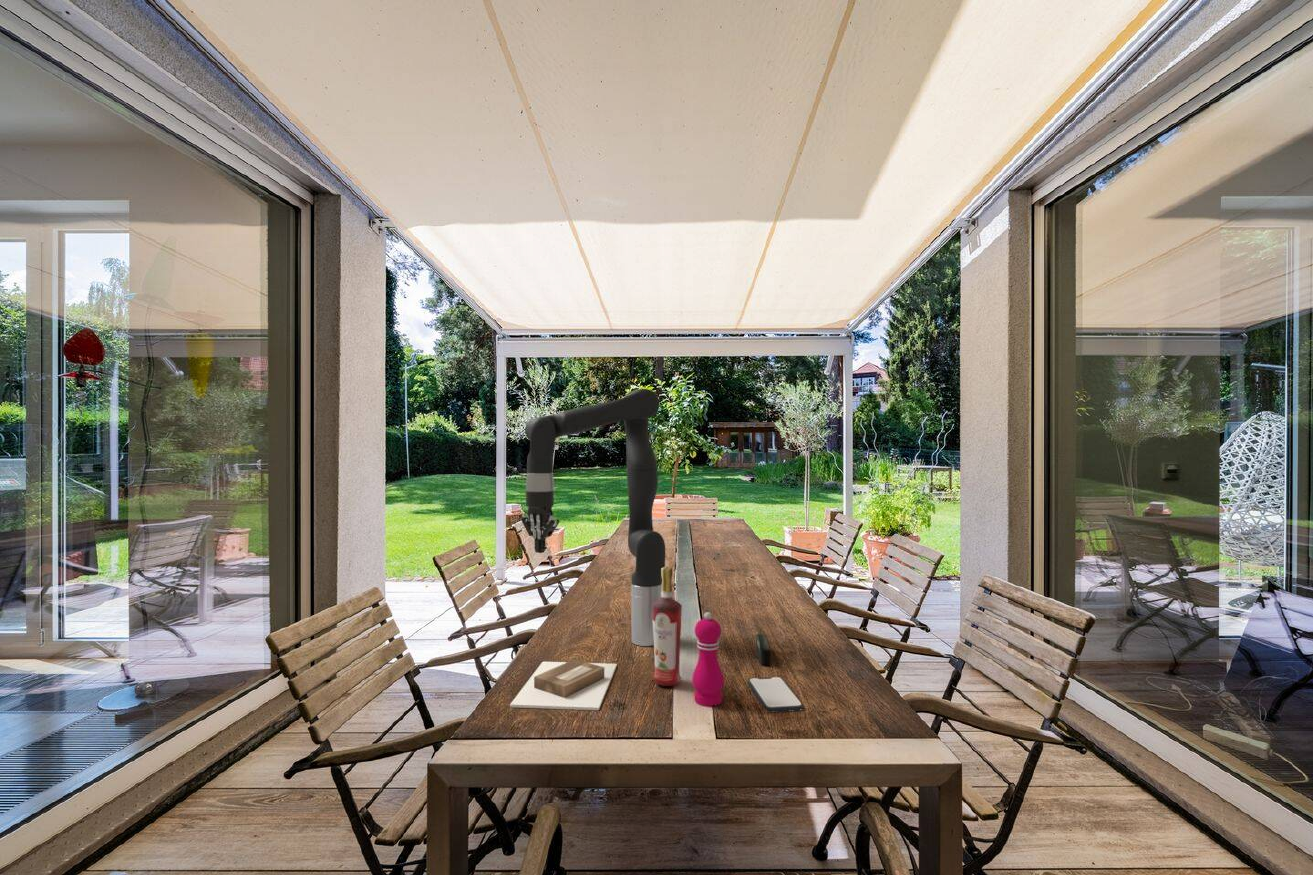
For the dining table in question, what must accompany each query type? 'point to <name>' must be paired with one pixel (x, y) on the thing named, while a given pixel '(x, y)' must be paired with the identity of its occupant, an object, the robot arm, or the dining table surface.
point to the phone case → (774, 694)
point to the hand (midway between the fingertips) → (539, 552)
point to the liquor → (666, 633)
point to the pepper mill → (708, 663)
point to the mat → (578, 701)
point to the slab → (569, 678)
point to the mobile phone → (763, 650)
